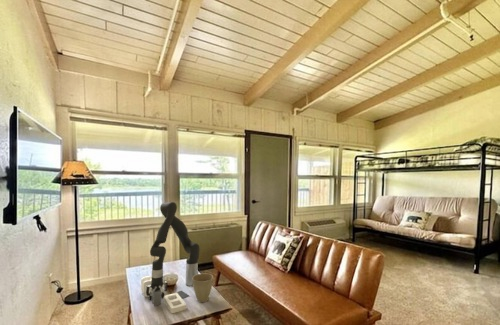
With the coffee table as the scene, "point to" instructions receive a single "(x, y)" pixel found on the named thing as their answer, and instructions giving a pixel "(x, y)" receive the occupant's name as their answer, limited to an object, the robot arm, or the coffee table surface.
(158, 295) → the block
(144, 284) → the cable organizer
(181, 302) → the outlet plate
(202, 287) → the plant pot
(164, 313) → the coffee table surface
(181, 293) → the phone slab
